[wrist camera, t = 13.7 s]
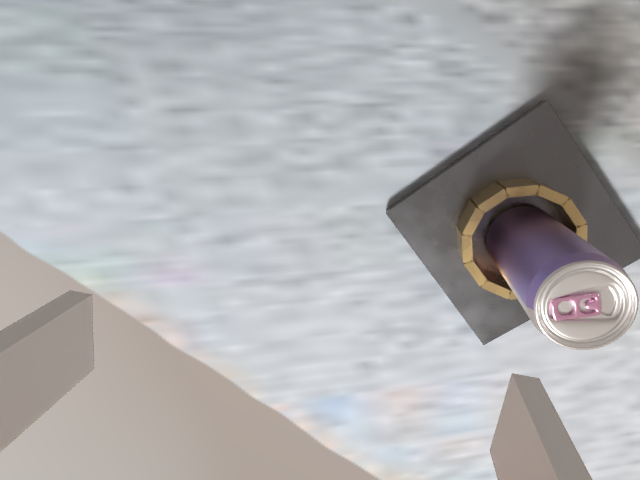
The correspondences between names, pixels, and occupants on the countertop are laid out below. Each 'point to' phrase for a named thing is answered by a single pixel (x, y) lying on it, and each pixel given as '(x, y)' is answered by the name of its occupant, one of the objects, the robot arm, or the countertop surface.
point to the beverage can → (562, 279)
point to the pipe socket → (494, 199)
